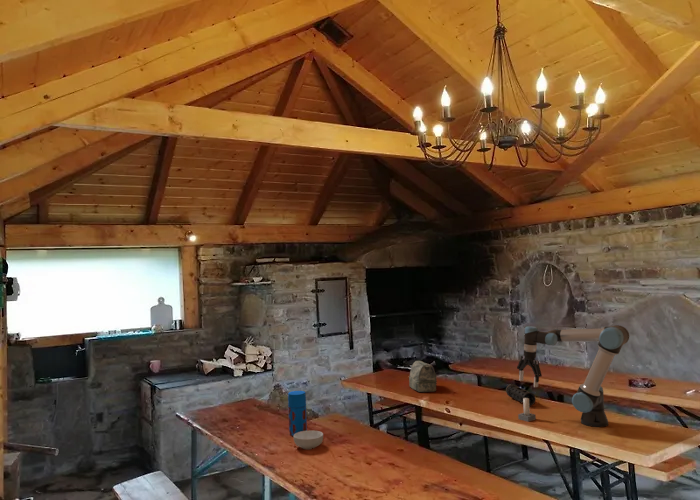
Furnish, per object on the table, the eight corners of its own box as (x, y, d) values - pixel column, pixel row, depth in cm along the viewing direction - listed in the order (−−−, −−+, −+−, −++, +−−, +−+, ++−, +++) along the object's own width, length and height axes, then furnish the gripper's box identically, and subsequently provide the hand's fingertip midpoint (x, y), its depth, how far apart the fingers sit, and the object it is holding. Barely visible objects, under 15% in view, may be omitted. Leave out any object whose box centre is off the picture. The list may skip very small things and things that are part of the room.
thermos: (304, 430, 322) (302, 389, 323) (309, 434, 312) (307, 393, 313) (287, 432, 318) (286, 392, 319) (291, 437, 308) (290, 395, 309)
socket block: (535, 419, 325) (535, 414, 325) (528, 421, 321) (527, 416, 321) (526, 416, 331) (525, 412, 331) (518, 419, 327) (518, 414, 327)
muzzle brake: (523, 408, 351) (522, 392, 352) (505, 398, 379) (504, 384, 379) (536, 407, 353) (535, 391, 353) (517, 397, 380) (516, 383, 381)
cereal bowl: (329, 446, 290) (329, 433, 290) (306, 454, 278) (306, 441, 279) (310, 440, 302) (310, 427, 302) (287, 447, 291) (287, 435, 291)
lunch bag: (439, 391, 405) (438, 364, 406) (417, 393, 402) (416, 365, 403) (428, 384, 431) (427, 358, 432) (408, 386, 427) (406, 360, 428)
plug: (531, 419, 325) (530, 398, 326) (527, 420, 323) (526, 399, 324) (526, 418, 328) (525, 397, 329) (522, 419, 326) (521, 398, 327)
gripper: (512, 346, 337) (510, 378, 337) (539, 355, 313) (537, 390, 314) (521, 346, 339) (520, 377, 340) (548, 355, 316) (547, 389, 317)
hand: (528, 383), depth 327 cm, fingers open, 13 cm apart
